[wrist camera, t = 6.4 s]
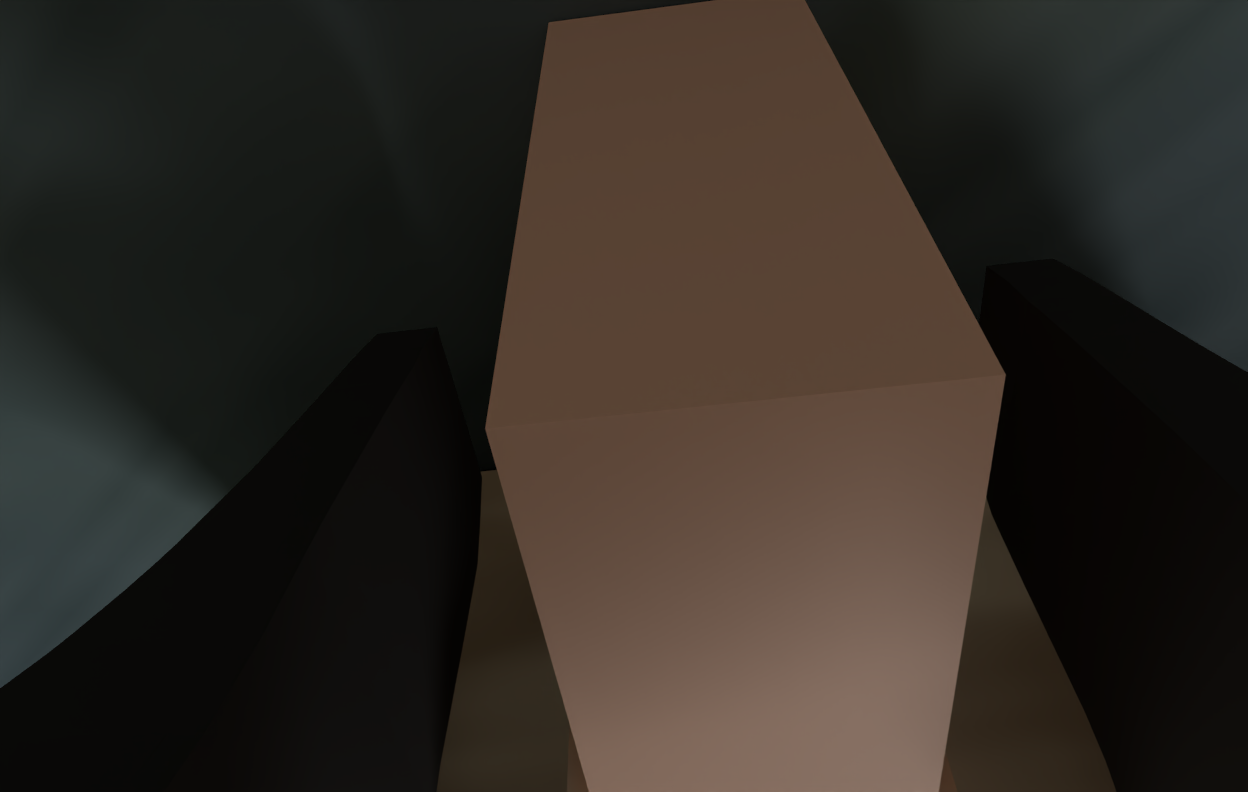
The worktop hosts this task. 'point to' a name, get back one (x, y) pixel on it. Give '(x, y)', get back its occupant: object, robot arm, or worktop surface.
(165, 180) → the worktop surface
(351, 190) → the worktop surface
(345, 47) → the worktop surface
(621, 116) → the tan flat notched board
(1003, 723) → the tan notched block
